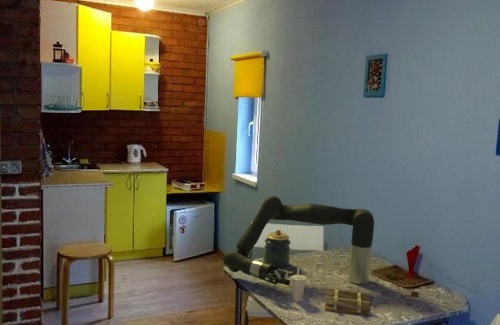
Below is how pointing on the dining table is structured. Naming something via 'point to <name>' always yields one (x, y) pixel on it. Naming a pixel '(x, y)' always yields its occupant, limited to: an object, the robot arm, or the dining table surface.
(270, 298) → the dining table surface
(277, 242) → the canister
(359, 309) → the wooden grid tray
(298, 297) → the smoothie
